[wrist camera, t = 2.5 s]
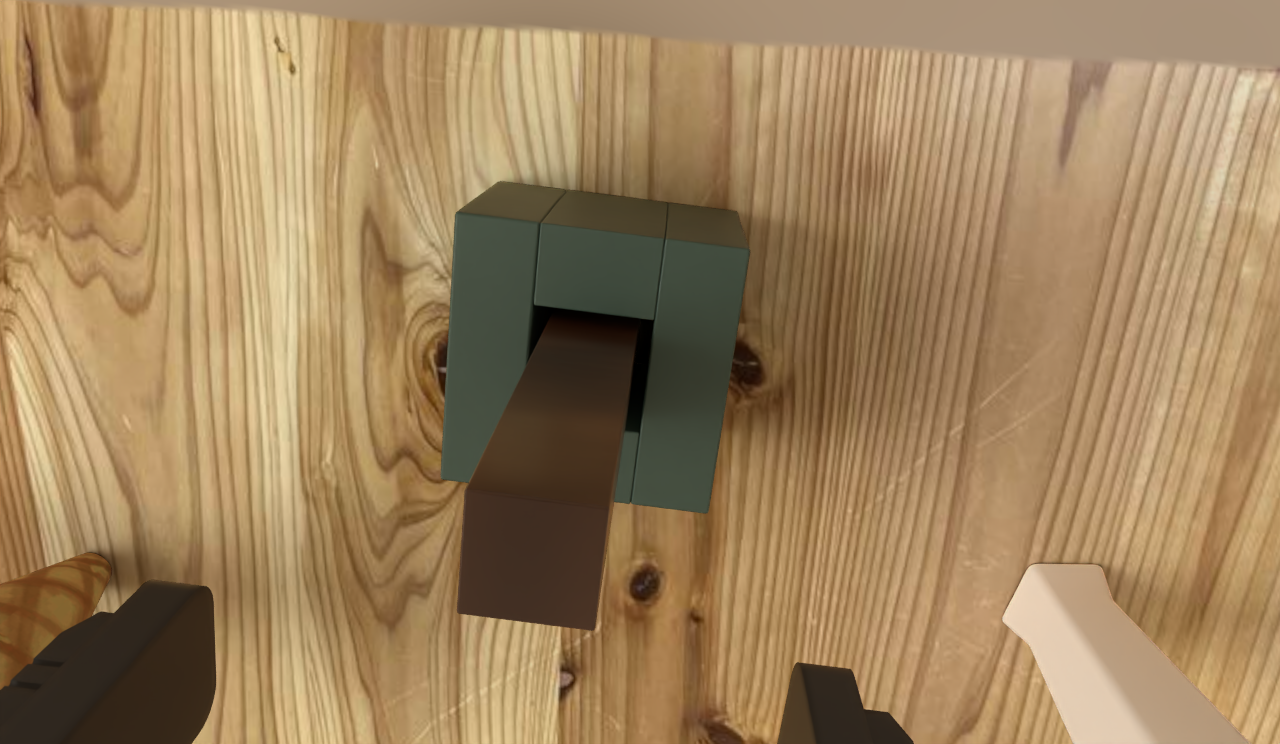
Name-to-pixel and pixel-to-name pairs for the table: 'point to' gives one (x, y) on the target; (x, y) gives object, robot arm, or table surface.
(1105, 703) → the perfume bottle
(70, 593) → the ice cream cone
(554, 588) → the brown rectangular peg
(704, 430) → the holder
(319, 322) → the table surface
